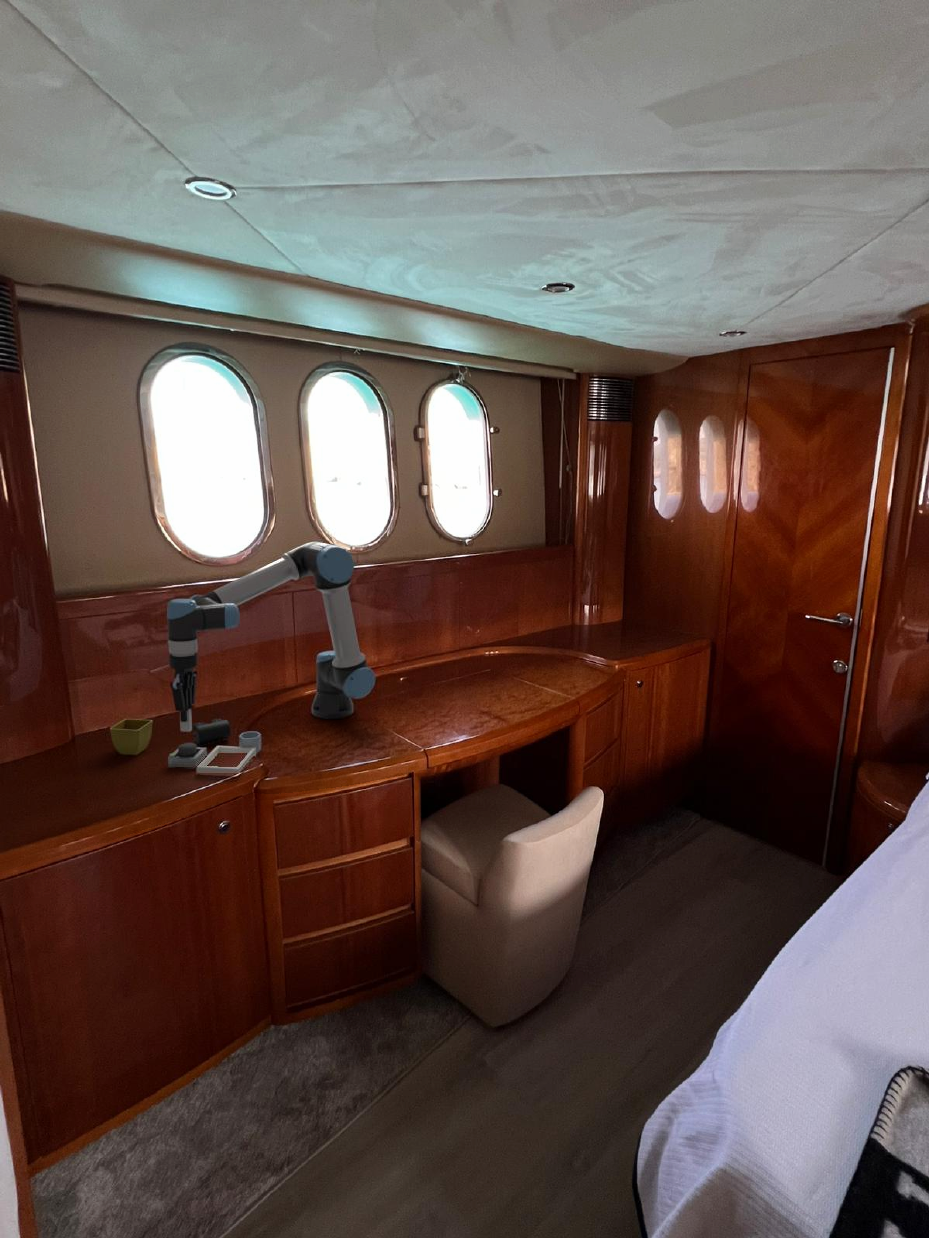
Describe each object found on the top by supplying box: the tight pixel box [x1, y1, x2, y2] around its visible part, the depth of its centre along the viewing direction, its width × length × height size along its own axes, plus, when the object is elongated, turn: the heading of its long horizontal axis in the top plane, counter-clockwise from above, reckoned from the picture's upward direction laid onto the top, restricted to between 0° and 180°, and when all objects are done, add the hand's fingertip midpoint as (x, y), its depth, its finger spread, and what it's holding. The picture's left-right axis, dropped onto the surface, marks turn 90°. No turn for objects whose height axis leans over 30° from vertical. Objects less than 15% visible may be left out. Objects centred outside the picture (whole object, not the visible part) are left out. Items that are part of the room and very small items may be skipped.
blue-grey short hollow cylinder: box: [238, 730, 262, 754], centre depth 198 cm, size 6×6×5 cm
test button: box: [177, 742, 198, 757], centre depth 188 cm, size 5×5×3 cm
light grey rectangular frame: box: [196, 745, 257, 774], centre depth 188 cm, size 12×15×2 cm
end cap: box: [192, 718, 232, 747], centre depth 202 cm, size 10×7×7 cm
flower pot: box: [109, 718, 153, 756], centre depth 192 cm, size 9×9×9 cm
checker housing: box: [167, 746, 208, 768], centre depth 188 cm, size 8×8×4 cm
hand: (186, 730), depth 186 cm, fingers closed
